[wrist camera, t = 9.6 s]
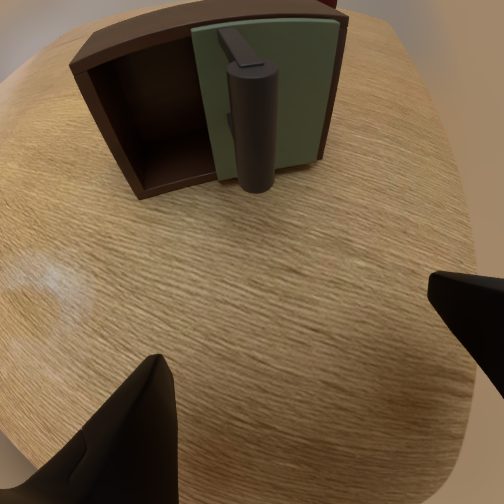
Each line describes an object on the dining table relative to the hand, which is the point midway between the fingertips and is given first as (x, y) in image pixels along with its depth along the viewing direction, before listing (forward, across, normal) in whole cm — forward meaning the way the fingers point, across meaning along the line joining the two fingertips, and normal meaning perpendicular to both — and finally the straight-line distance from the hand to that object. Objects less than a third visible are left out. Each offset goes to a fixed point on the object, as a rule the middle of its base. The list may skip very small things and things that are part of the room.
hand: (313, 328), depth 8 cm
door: (+11, -2, -2) cm, 11 cm away
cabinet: (+16, 0, -6) cm, 17 cm away
